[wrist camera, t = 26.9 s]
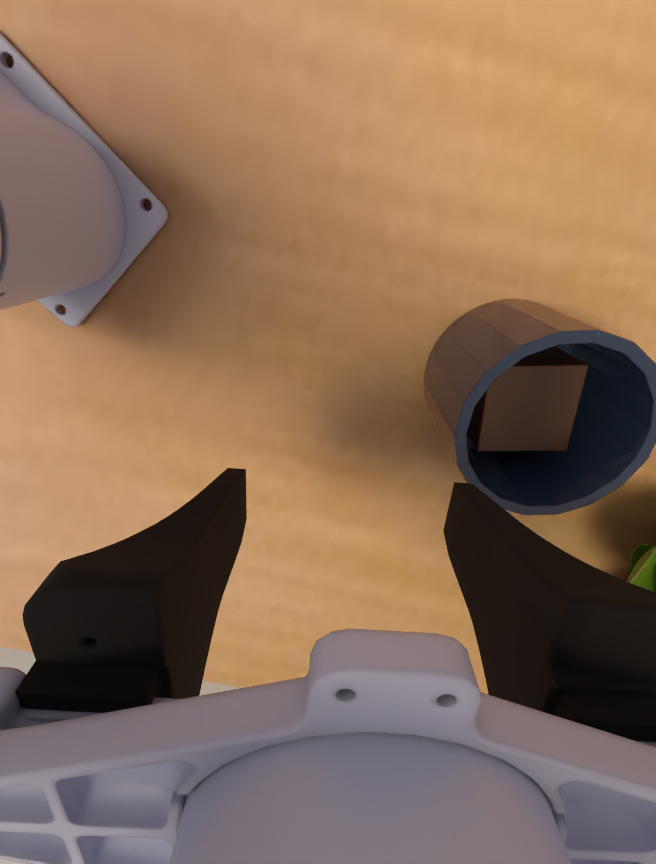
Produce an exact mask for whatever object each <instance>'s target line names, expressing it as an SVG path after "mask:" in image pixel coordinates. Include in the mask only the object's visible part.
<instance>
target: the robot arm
mask: <svg viewBox="0 0 656 864" xmlns="http://www.w3.org/2000/svg"><path fill="white" fill-rule="evenodd" d="M9 55H11V56H12V58H13V61H14V64H13V67H11V68H9V67H8V65H7V57H8V56H9ZM146 199H149V200H150V202H151V203H152V208H151V210H149V211H147V210H146V209H145V207H144V204H143V203H144V200H146ZM167 220H168V212H167V209H166V208H165V206H164V205H163V204H162V203H161V202H160V201H159V200H158V199H157V198H156V197H155V196H154V194H153V193H152V192H151V191H150V190H149V189H148V188H147V187H146V186H145V185H144V184H143V183H142V182H141V181H140V180H139V179H138V178H137V177H136V175H135V174H134V173H133V172H132V171H131V170H130V169H129V168H128V167H127V166H126V165H125V164H124V163H123V162H122V161H121V160H120V159H119V158H118V156H117V155H116V154H115V153H114V152H113V151H112V150H111V149H110V148H109V147H108V146H107V145H106V144H105V143H104V142H103V141H102V140H101V139H100V137H99V136H98V135H97V134H96V133H95V132H94V131H93V130H92V129H91V128H90V127H89V126H88V125H87V124H86V123H85V122H84V121H83V120H82V118H81V117H80V116H79V115H78V114H77V113H76V112H75V111H74V110H73V109H72V108H71V107H70V106H69V105H68V104H67V103H66V102H65V100H64V99H63V98H62V97H61V96H60V95H59V94H58V93H57V92H56V91H55V90H54V89H53V88H52V87H51V86H50V85H49V84H48V83H47V81H46V80H45V79H44V78H43V77H42V76H41V75H40V74H39V73H38V72H37V71H36V70H35V69H34V68H33V67H32V66H31V65H30V64H29V62H28V61H27V60H26V59H25V58H24V57H23V56H22V55H21V54H20V53H19V52H18V51H17V50H16V49H15V48H14V47H13V46H12V45H11V43H10V42H9V41H8V40H7V39H6V38H5V37H4V36H3V35H2V34H1V33H0V310H2V309H6V308H9V307H13V306H17V305H20V304H24V303H28V302H31V301H35V300H37V301H38V302H40V303H41V304H42V305H43V306H44V307H45V308H46V309H48V310H49V311H50V312H51V313H52V314H53V315H55V316H56V317H57V318H58V319H59V320H60V321H61V322H63V323H64V324H65V325H67V326H70V327H75V326H77V325H79V324H81V323H82V321H83V320H84V319H85V318H86V317H87V316H88V314H89V313H90V312H91V311H92V310H93V308H94V307H95V306H96V305H97V304H98V303H99V301H100V300H101V299H102V298H103V297H104V295H105V294H106V293H107V292H108V291H109V289H110V288H111V287H112V286H113V285H114V284H115V282H116V281H117V280H118V279H119V278H120V276H121V275H122V274H123V273H124V272H125V271H126V269H127V268H128V267H129V266H130V265H131V263H132V262H133V261H134V260H135V259H136V258H137V256H138V255H139V254H140V253H141V252H142V250H143V249H144V248H145V247H146V246H147V245H148V243H149V242H150V241H151V240H152V239H153V237H154V236H155V235H156V234H157V233H158V232H159V230H160V229H161V228H162V227H163V226H164V224H165V223H166V222H167ZM60 305H62V306H64V308H65V309H66V313H63V312H62V311H61V310H60ZM246 518H247V516H246V469H234V468H227V469H226V470H225V471H224V472H223V473H222V474H220V475H219V476H218V477H217V478H216V479H215V480H214V481H213V482H212V483H210V484H209V485H208V486H207V487H206V488H205V489H204V490H202V491H201V492H200V493H199V494H198V495H196V496H195V497H194V498H193V499H192V500H190V501H189V502H188V503H186V504H185V505H184V506H182V507H181V508H180V509H178V510H177V511H175V512H174V513H172V514H171V515H169V516H168V517H166V518H165V519H163V520H161V521H160V522H158V523H156V524H154V525H153V526H151V527H149V528H147V529H145V530H143V531H141V532H139V533H137V534H135V535H133V536H131V537H129V538H127V539H124V540H122V541H120V542H117V543H115V544H112V545H110V546H107V547H104V548H102V549H99V550H96V551H93V552H90V553H87V554H84V555H80V556H77V557H74V558H71V559H67V560H64V561H61V562H60V563H59V564H58V565H57V566H56V567H55V568H54V569H53V570H52V572H51V573H50V574H49V575H48V576H47V578H46V579H45V580H44V582H43V583H42V584H41V585H40V587H39V588H38V589H37V591H36V592H35V593H34V594H33V596H32V597H31V598H30V599H29V601H28V602H27V603H26V605H25V607H24V611H23V621H24V626H25V629H26V632H27V635H28V638H29V641H30V644H31V647H32V650H33V653H34V655H35V659H36V662H35V663H34V664H33V666H32V667H31V669H30V670H29V672H28V673H27V675H26V674H25V673H24V672H22V671H20V670H19V669H15V668H10V667H0V859H4V860H9V861H15V862H21V863H27V864H656V592H653V591H651V590H648V589H645V588H642V587H639V586H637V585H634V584H631V583H629V582H626V581H624V580H622V579H619V578H617V577H615V576H612V575H610V574H608V573H605V572H603V571H601V570H599V569H597V568H595V567H593V566H591V565H589V564H587V563H585V562H583V561H581V560H579V559H577V558H575V557H573V556H571V555H570V554H568V553H566V552H564V551H563V550H561V549H559V548H558V547H556V546H554V545H553V544H551V543H550V542H548V541H546V540H545V539H543V538H542V537H540V536H539V535H537V534H536V533H534V532H533V531H532V530H530V529H529V528H527V527H526V526H525V525H523V524H522V523H521V522H519V521H518V520H517V519H515V518H514V517H513V516H512V515H510V514H509V513H508V512H507V511H505V510H504V509H503V508H502V507H500V506H499V505H498V504H497V503H496V502H494V501H493V500H492V499H491V498H490V497H488V496H487V495H486V494H485V493H484V492H482V491H481V490H480V489H479V488H477V487H476V486H475V485H473V484H470V483H454V486H453V491H452V495H451V500H450V504H449V508H448V513H447V517H446V521H445V526H444V535H445V540H446V545H447V550H448V554H449V558H450V561H451V563H452V566H453V569H454V572H455V575H456V577H457V580H458V583H459V585H460V588H461V591H462V594H463V596H464V599H465V602H466V604H467V607H468V610H469V613H470V616H471V619H472V622H473V626H474V630H475V634H476V638H477V642H478V646H479V651H480V655H481V660H482V664H483V669H484V673H485V678H486V683H487V688H488V693H489V695H487V694H484V693H481V692H480V690H479V687H478V684H477V681H476V677H475V674H474V671H473V668H472V664H471V661H470V658H469V655H468V651H467V649H466V648H465V647H464V646H463V645H462V644H461V643H460V642H458V641H457V640H456V639H455V638H451V637H447V636H444V635H440V634H436V633H418V632H401V631H383V630H366V629H345V630H337V631H332V632H330V633H329V634H327V635H325V636H324V637H322V638H320V639H319V640H317V641H316V643H315V645H314V647H313V649H312V651H311V653H310V666H309V671H308V674H307V676H305V677H302V678H296V679H290V680H285V681H279V682H274V683H268V684H263V685H257V686H251V687H246V688H240V689H235V690H229V691H224V692H218V693H212V694H208V695H201V696H199V694H200V689H201V684H202V679H203V675H204V670H205V665H206V661H207V656H208V652H209V647H210V643H211V638H212V634H213V630H214V626H215V622H216V617H217V613H218V609H219V606H220V602H221V599H222V596H223V593H224V590H225V588H226V585H227V582H228V579H229V576H230V574H231V571H232V568H233V565H234V562H235V560H236V557H237V554H238V551H239V548H240V545H241V542H242V537H243V533H244V528H245V523H246Z"/></svg>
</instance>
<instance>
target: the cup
mask: <svg viewBox="0 0 656 864" xmlns="http://www.w3.org/2000/svg"><path fill="white" fill-rule="evenodd" d="M554 346H556V347H558V348H559V349H561V350H563V351H565V352H566V353H568V354H570V355H572V356H573V357H575V358H577V359H579V360H580V361H582V362H584V363H585V364H587V365H588V370H587V373H586V377H585V381H584V385H583V389H582V393H581V397H580V401H579V405H578V409H577V413H576V416H575V420H574V424H573V428H572V432H571V436H570V440H569V444H568V448H567V450H566V451H485V452H478V451H477V450H476V448H475V447H474V445H473V444H472V442H471V440H470V439H469V437H468V435H467V430H468V427H469V424H470V421H471V417H472V414H473V411H474V408H475V405H476V404H477V403H478V401H479V400H480V399H481V397H482V396H483V394H484V393H485V392H486V390H487V389H488V388H489V386H490V385H491V384H492V382H493V381H494V380H495V379H496V378H497V377H498V376H500V375H501V374H502V373H504V372H505V371H506V370H508V369H509V368H510V367H512V366H513V365H514V364H516V363H517V362H518V361H520V360H521V359H522V358H524V357H526V356H529V355H531V354H534V353H537V352H540V351H543V350H545V349H548V348H551V347H554ZM424 392H425V397H426V401H427V405H428V408H429V410H430V412H431V414H432V416H433V418H434V420H435V422H436V424H437V426H438V428H439V430H440V432H441V434H442V436H443V438H444V440H445V442H446V444H447V446H448V448H449V450H450V452H451V454H452V456H453V458H454V460H455V462H456V464H457V466H458V468H459V470H460V471H461V473H462V475H463V477H464V478H465V480H466V482H467V483H470V484H473V485H475V486H476V487H477V488H479V489H480V490H481V491H482V492H484V493H485V494H486V495H487V496H488V497H490V498H491V499H492V500H493V501H494V502H496V503H497V504H498V505H499V506H500V507H502V508H503V509H504V510H507V511H511V512H514V513H518V514H521V515H555V514H560V513H564V512H567V511H570V510H574V509H577V508H581V507H584V506H587V505H590V504H592V503H594V502H595V501H597V500H599V499H600V498H602V497H604V496H605V495H607V494H609V493H610V492H612V491H614V490H615V489H617V488H619V487H620V486H622V485H623V484H624V483H625V482H626V481H627V480H628V479H629V478H630V477H631V476H632V475H633V474H634V473H635V472H636V471H637V470H638V469H639V468H640V467H641V466H642V465H643V464H644V463H645V462H646V460H647V459H648V457H649V455H650V453H651V451H652V449H653V447H654V445H655V443H656V363H655V362H654V361H653V360H652V359H651V358H650V357H649V356H648V355H647V354H646V353H645V352H644V351H643V350H642V349H641V348H640V347H639V346H638V345H637V344H636V343H634V342H633V341H631V340H628V339H626V338H623V337H621V336H618V335H616V334H613V333H611V332H609V331H606V330H604V329H601V328H599V327H596V326H594V325H591V324H589V323H587V322H584V321H582V320H579V319H577V318H574V317H572V316H569V315H567V314H565V313H562V312H560V311H557V310H555V309H552V308H549V307H546V306H543V305H541V304H539V303H535V302H532V301H528V300H520V299H506V300H499V301H494V302H490V303H487V304H484V305H481V306H479V307H477V308H474V309H473V310H471V311H469V312H467V313H465V314H464V315H463V316H461V317H460V318H458V319H457V320H456V321H455V322H454V323H452V324H451V325H450V326H449V327H448V328H447V329H446V330H445V332H444V333H443V334H442V335H441V336H440V338H439V339H438V341H437V342H436V344H435V345H434V347H433V349H432V351H431V353H430V356H429V358H428V361H427V364H426V369H425V374H424Z"/></svg>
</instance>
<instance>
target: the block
mask: <svg viewBox="0 0 656 864" xmlns="http://www.w3.org/2000/svg"><path fill="white" fill-rule="evenodd" d="M587 370H588V365H587V364H585V363H584V362H582V361H580V360H579V359H577V358H575V357H573V356H572V355H570V354H568V353H566V352H565V351H563V350H561V349H559V348H558V347H556V346H554V347H551V348H548V349H545V350H543V351H540V352H537V353H534V354H531V355H529V356H526V357H524V358H522V359H521V360H520V361H518V362H517V363H516V364H514V365H513V366H512V367H510V368H509V369H508V370H506V371H505V372H504V373H502V374H501V375H500V376H498V377H497V378H496V379H495V380H494V381H493V382H492V384H491V385H490V386H489V388H488V389H487V390H486V392H485V393H484V394H483V396H482V397H481V399H480V400H479V401H478V403H477V404H476V405H475V408H474V411H473V414H472V417H471V421H470V424H469V427H468V430H467V435H468V437H469V439H470V440H471V442H472V444H473V445H474V447H475V448H476V450H477V451H478V452H485V451H566V450H567V448H568V444H569V440H570V436H571V432H572V428H573V424H574V420H575V416H576V413H577V409H578V405H579V401H580V397H581V393H582V389H583V385H584V381H585V377H586V373H587Z"/></svg>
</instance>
